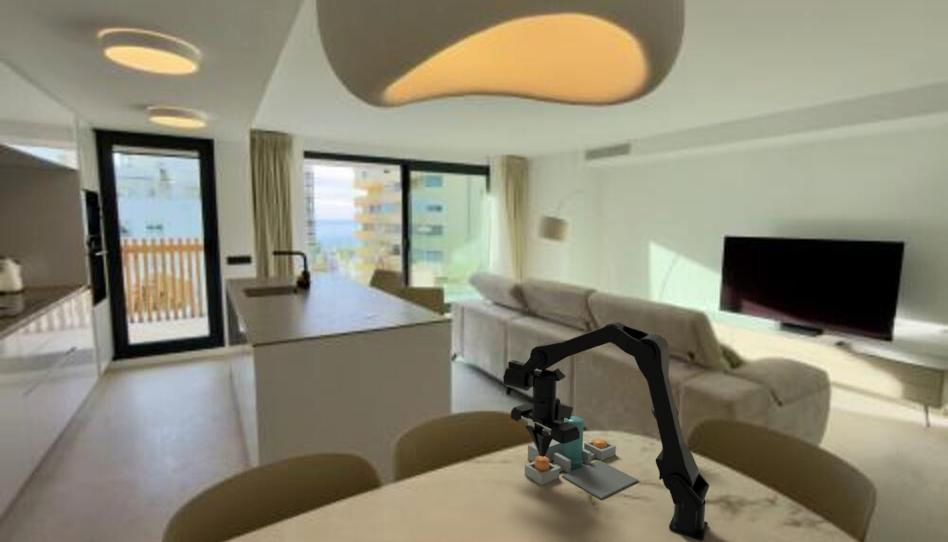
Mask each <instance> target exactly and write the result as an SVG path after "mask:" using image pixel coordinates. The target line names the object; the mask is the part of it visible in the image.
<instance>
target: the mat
mask: <svg viewBox="0 0 948 542" xmlns="http://www.w3.org/2000/svg"><path fill="white" fill-rule="evenodd" d="M561 477H562V479H565V480H567V481H569V482H570V483H572V484H573V485H575V486H577V487H579V488H580V489H582V490H583V491H586V492H587V493H589V494H591V495H592V496H595V497H596V498H598V499H599V500H603V499H605V498H607V497H609V496H611V495H613V494H615V493H618V492H619V491H622V490H624V489H626V488H627V486H628V487H629V485H630V486H631V484H632V485H634V484H636V483H637V482H639V479H637V478H635V477H634V476H632V475H629V474H628V473H626V472H623V471H621V470H619V469H617V468H616V467H614V466H611V465H609V464H608V463H606V462H603V460H599V459H598V460H595V461H594V462H591V464H586V465H584V466H582V467H581V468H579V469H573V470H571V472H569V473H567V472H566V473H564V474H562V476H561ZM633 483H634V484H633ZM625 487H626V488H625ZM623 488H624V489H623Z"/></svg>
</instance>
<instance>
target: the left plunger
mask: <svg viewBox="0 0 948 542" xmlns="http://www.w3.org/2000/svg"><path fill="white" fill-rule="evenodd" d="M549 463H551V461H550V460H549V458H547V457H545V456H544V457H542V456H537V457H536V458H535V469H536V470H538V471H540V472H541V473H543V472H545V471H548V470H549Z"/></svg>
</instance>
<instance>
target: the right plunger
mask: <svg viewBox="0 0 948 542" xmlns="http://www.w3.org/2000/svg"><path fill="white" fill-rule="evenodd" d="M593 440H594V441H593V446H595V447H597V448H599V449H604V448H606V447H607V442H608V441H607V440H605V439H603V438H600V439H597V438H594V439H593Z"/></svg>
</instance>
